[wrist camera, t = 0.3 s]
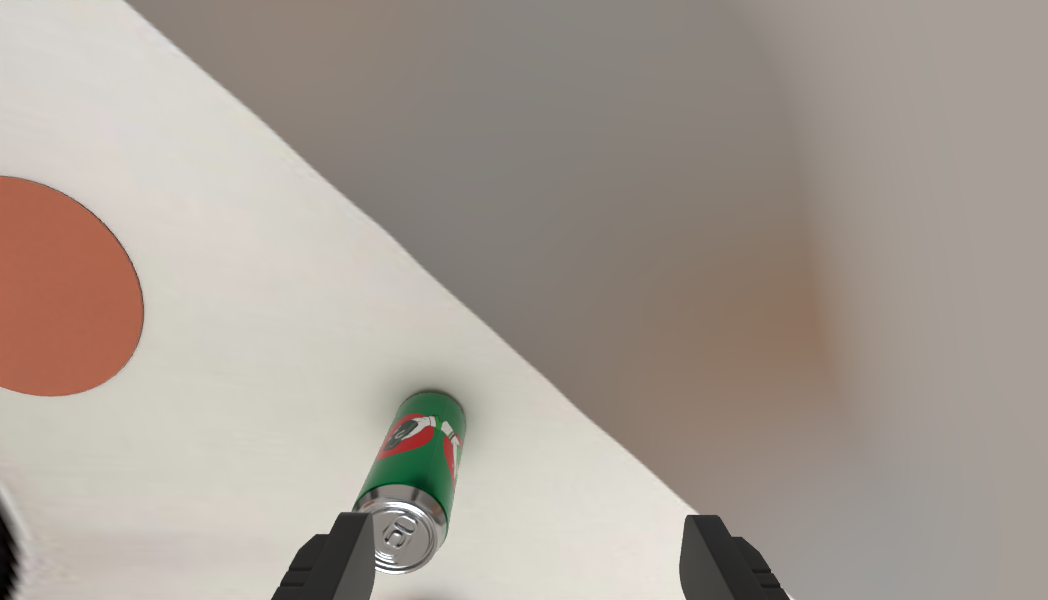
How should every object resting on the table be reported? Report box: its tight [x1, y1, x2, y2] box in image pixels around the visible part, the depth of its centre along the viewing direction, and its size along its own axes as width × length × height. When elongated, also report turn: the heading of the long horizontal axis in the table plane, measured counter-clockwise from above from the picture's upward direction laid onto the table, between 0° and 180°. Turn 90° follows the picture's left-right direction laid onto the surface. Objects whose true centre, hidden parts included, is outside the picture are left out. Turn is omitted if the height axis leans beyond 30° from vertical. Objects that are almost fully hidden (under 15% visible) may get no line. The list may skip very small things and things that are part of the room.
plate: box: [0, 176, 143, 396], centre depth 33 cm, size 15×15×1 cm
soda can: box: [352, 392, 466, 574], centre depth 31 cm, size 5×5×12 cm
